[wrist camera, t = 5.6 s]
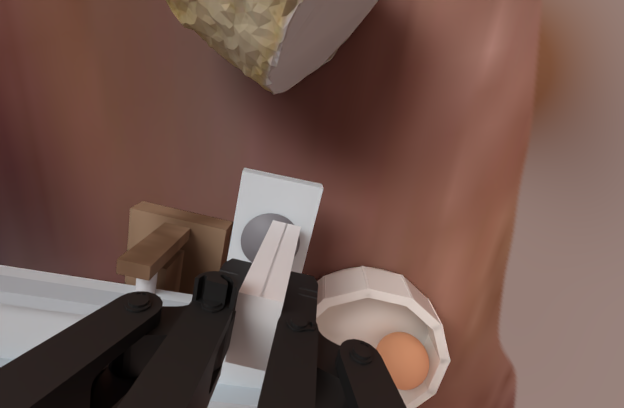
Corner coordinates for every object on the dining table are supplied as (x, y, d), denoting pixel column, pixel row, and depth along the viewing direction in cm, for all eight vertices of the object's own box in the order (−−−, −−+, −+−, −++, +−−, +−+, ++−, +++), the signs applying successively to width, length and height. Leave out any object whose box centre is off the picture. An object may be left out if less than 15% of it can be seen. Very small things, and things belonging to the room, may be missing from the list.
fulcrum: (130, 347, 25) (67, 427, 19) (142, 201, 22) (70, 240, 16) (207, 364, 25) (170, 448, 19) (232, 221, 22) (197, 269, 16)
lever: (-80, 366, 19) (-142, 412, 16) (-123, 89, 14) (-218, 88, 12) (265, 405, 22) (262, 450, 19) (321, 183, 17) (328, 200, 14)
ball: (415, 413, 20) (422, 376, 24) (434, 368, 19) (439, 336, 22) (362, 383, 22) (375, 353, 25) (377, 340, 21) (389, 314, 24)
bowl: (278, 369, 25) (272, 404, 23) (308, 251, 22) (306, 273, 20) (407, 397, 26) (417, 435, 23) (454, 284, 23) (473, 311, 20)
